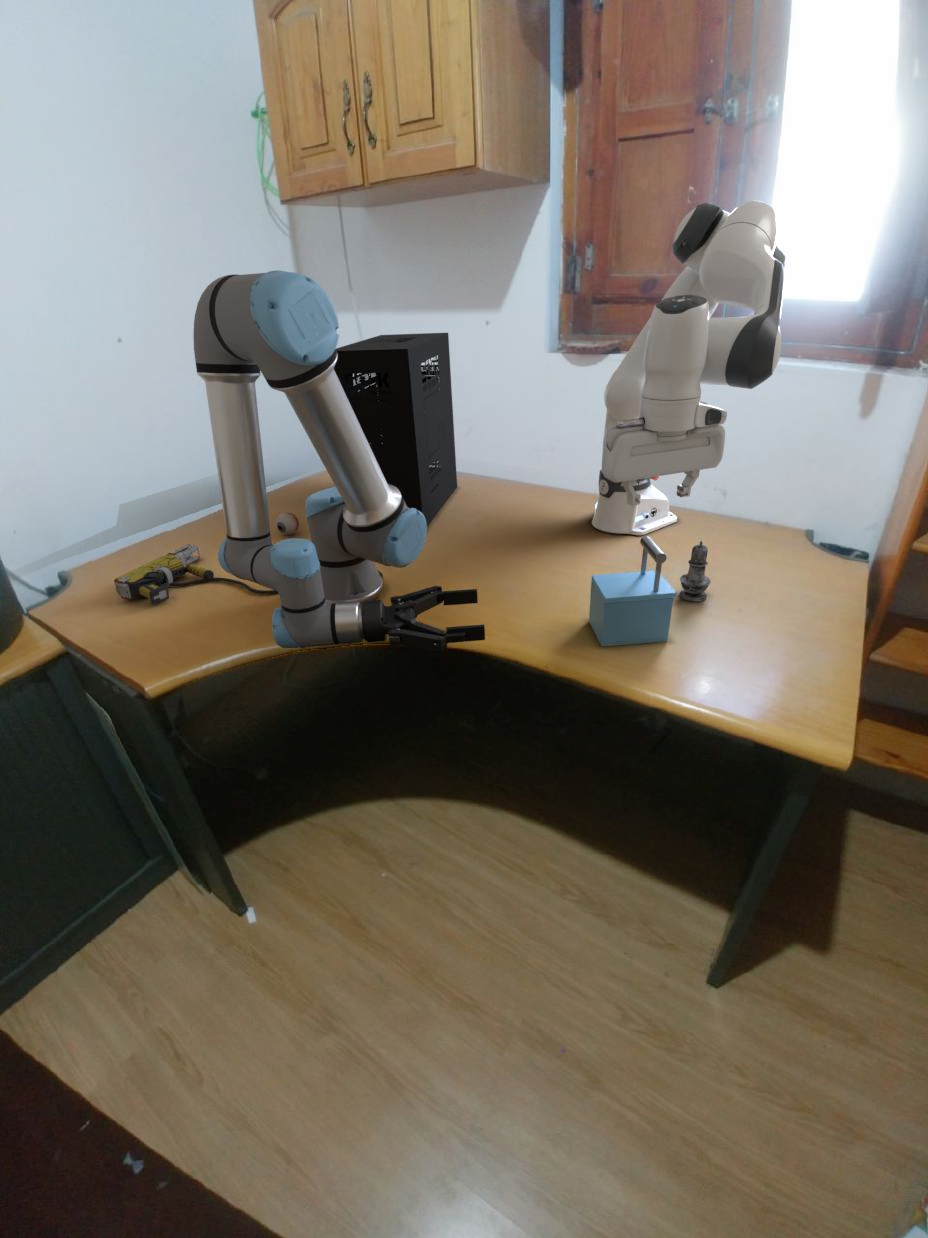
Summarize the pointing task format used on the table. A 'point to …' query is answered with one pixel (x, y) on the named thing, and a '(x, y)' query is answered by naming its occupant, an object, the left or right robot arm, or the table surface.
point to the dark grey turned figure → (696, 576)
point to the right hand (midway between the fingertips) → (658, 500)
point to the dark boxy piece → (405, 412)
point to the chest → (629, 620)
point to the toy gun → (160, 575)
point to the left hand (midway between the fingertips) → (481, 613)
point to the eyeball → (287, 523)
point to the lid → (636, 580)
